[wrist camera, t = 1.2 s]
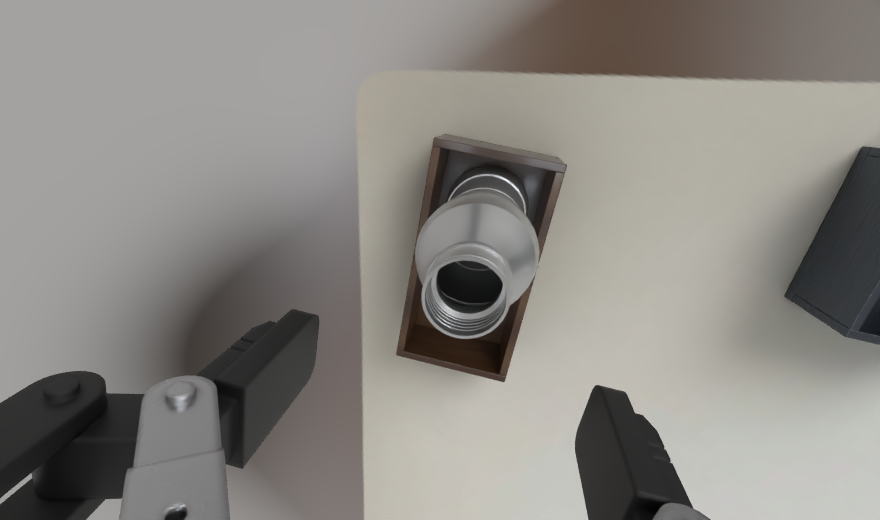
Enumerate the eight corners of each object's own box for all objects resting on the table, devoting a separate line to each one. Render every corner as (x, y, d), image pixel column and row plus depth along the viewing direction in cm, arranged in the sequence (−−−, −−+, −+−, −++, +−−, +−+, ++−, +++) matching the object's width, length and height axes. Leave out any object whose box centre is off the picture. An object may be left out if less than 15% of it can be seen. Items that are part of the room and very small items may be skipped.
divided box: (444, 134, 35) (434, 137, 30) (558, 157, 34) (567, 164, 29) (409, 325, 41) (395, 355, 36) (504, 349, 40) (504, 382, 35)
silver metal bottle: (433, 207, 37) (354, 305, 18) (485, 145, 34) (457, 183, 16) (489, 255, 37) (470, 398, 19) (544, 197, 35) (585, 294, 16)
